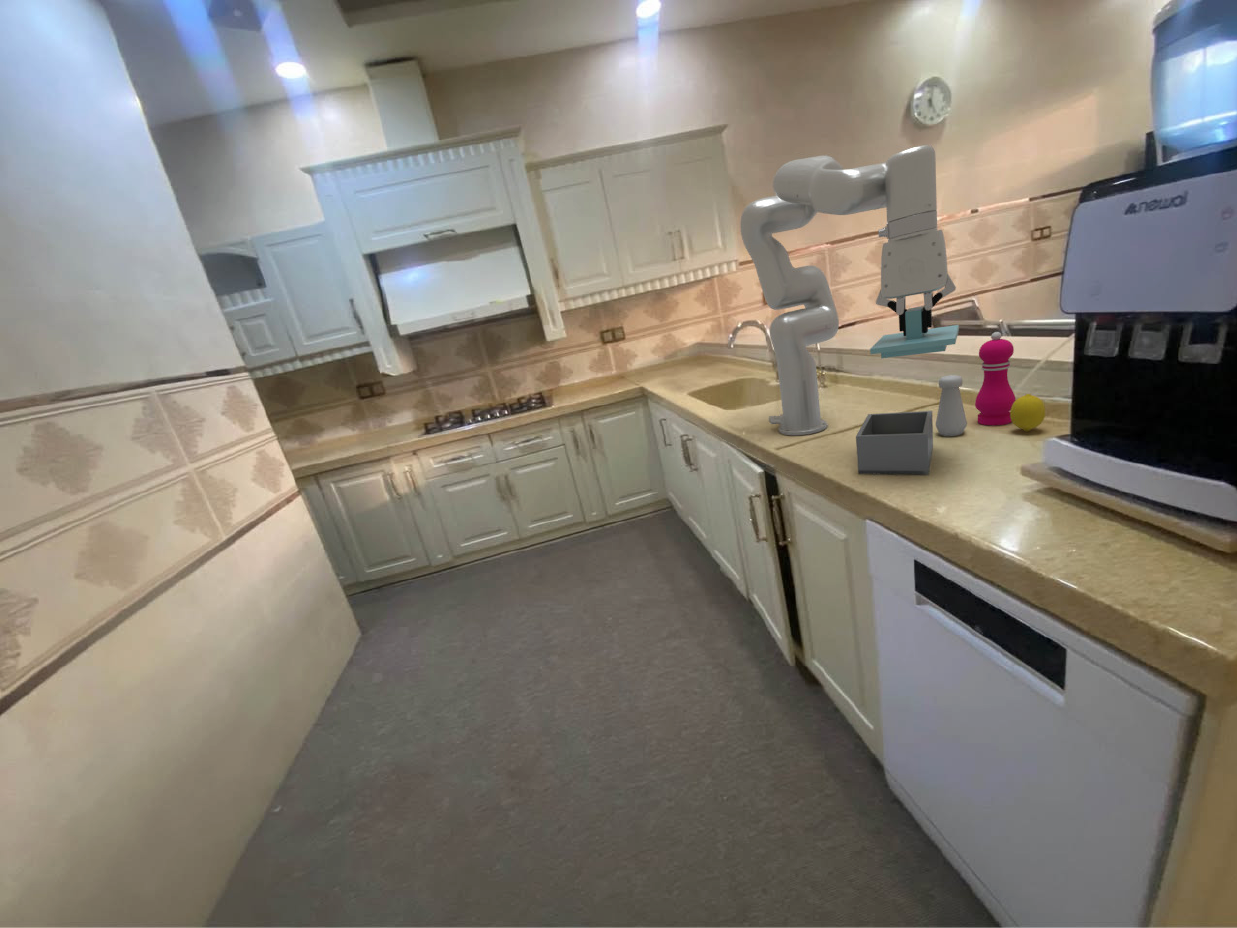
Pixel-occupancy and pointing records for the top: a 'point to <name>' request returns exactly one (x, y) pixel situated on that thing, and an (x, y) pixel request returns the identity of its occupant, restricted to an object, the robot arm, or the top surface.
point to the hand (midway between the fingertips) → (915, 332)
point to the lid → (915, 338)
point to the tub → (895, 443)
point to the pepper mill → (995, 382)
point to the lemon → (1027, 412)
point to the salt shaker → (950, 407)
